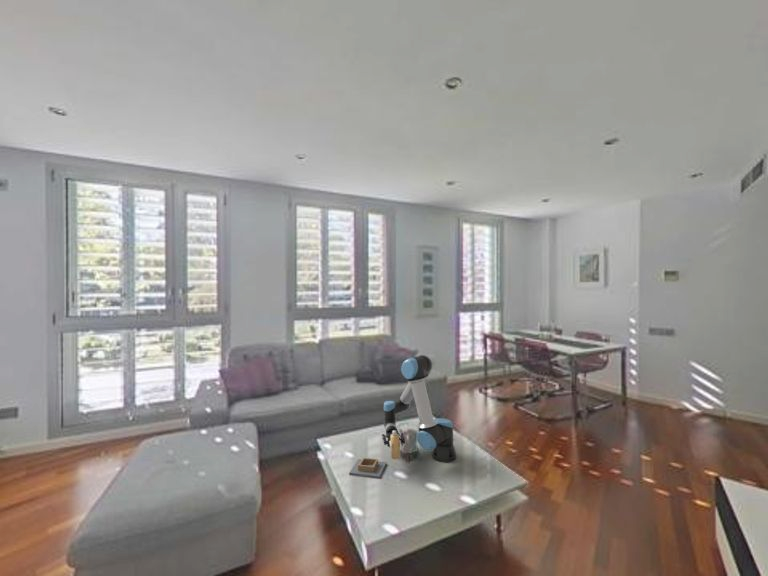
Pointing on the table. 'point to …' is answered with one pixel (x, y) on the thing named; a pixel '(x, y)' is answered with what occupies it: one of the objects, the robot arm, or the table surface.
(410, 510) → the table surface
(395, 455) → the yellow bottle
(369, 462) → the dock
